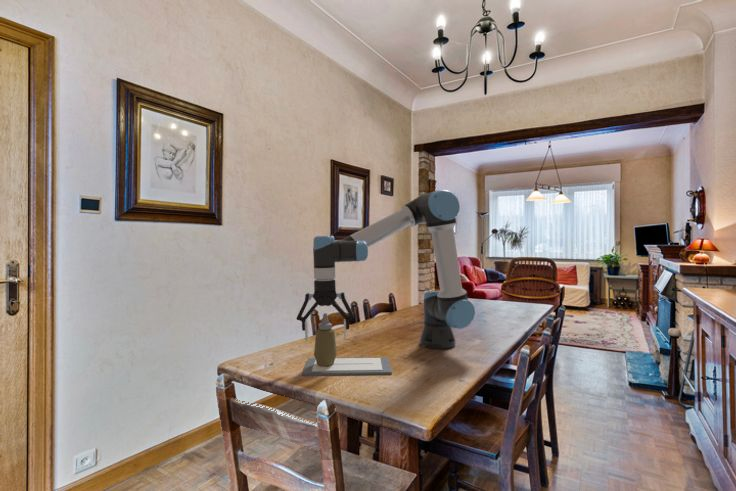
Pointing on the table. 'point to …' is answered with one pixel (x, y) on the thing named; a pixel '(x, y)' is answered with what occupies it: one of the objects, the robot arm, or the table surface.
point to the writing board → (349, 367)
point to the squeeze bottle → (325, 343)
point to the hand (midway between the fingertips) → (326, 339)
